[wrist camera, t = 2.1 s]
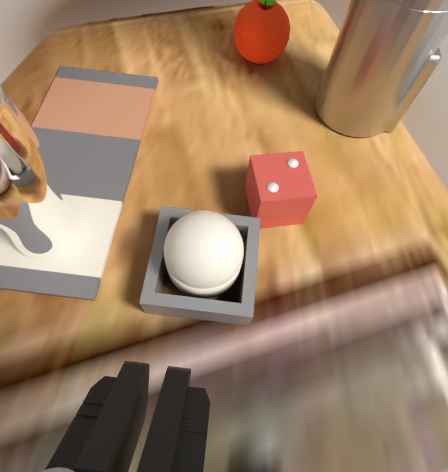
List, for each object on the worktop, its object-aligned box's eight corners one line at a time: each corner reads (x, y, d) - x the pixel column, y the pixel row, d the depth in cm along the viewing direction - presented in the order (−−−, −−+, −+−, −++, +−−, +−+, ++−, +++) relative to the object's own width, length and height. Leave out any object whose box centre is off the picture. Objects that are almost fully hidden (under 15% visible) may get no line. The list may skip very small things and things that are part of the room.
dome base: (256, 233, 34) (260, 218, 31) (248, 325, 30) (253, 317, 27) (164, 222, 34) (161, 206, 31) (145, 312, 30) (139, 303, 27)
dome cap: (242, 237, 32) (251, 200, 26) (236, 304, 29) (244, 279, 23) (174, 229, 32) (168, 190, 26) (161, 295, 29) (150, 267, 24)
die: (290, 182, 37) (303, 150, 32) (302, 223, 35) (317, 195, 30) (244, 187, 36) (250, 155, 32) (253, 229, 34) (261, 201, 29)
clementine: (241, 31, 48) (247, -27, 42) (290, 43, 47) (303, -14, 41) (224, 68, 44) (227, 10, 38) (276, 81, 44) (288, 25, 37)
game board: (158, 80, 43) (157, 77, 42) (94, 300, 30) (93, 299, 30) (61, 68, 43) (60, 65, 42) (-42, 283, 30) (-45, 282, 30)
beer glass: (98, 207, 34) (29, 75, 20) (65, 272, 31) (-42, 166, 17) (32, 190, 34) (-79, 50, 21) (-7, 252, 31) (-166, 134, 18)
